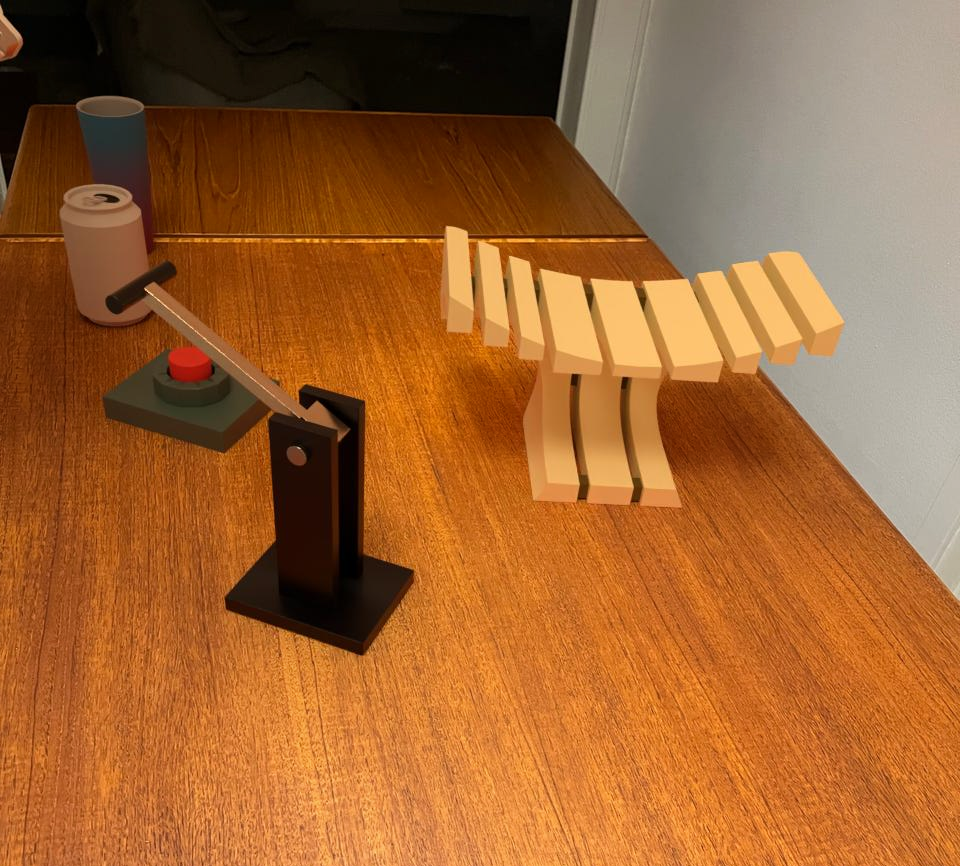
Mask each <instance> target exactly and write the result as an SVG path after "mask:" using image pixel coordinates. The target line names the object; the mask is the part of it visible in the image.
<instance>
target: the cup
mask: <svg viewBox="0 0 960 866" xmlns="http://www.w3.org/2000/svg"><path fill="white" fill-rule="evenodd" d="M75 109H76V112H77V117H78V121H79V125H80V129H81V135H82V139H83V143H84V147H85V151H86V156H87V161H88V164H89V170H90V173H91V177H92V182H93V184H104V185H113V186H117V187H121V188H123V189H125V190H127V191H129V192H130V193H131V195H132V202H134V203H135V204H136V205H137V206H138V207H139V208H140V209H141V215H142V223H143V230H144V237H145V244H146V251H147V255H149V254H151V253H152V252H154V250H155V236H154V222H153V210H152V209H153V208H152V194H151V179H150V166H149V165H150V164H149V151H148V150H149V149H148V138H147V124H146V123H147V122H146V109H145V105H144V104H143V103H142V102H141V101H139V100H136V99H135V98H131V97H126V96H125V97H124V96H119V95H100V96H93V97H92V96H91V97H87V98H84V99H81V100H79V101H78V102H77V103H76V105H75Z"/></svg>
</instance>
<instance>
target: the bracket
mask: <svg viewBox="0 0 960 866" xmlns="http://www.w3.org/2000/svg"><path fill="white" fill-rule="evenodd" d="M316 401H318V402H319V403H321V404H322V405H323V406H324V407H325V408H327V409H328V410H329V411H330V412H331V413H332V414H334V415H335V416H336V417H337V418H338V419H340V420H341V421H342V422H343V423H344V424H346V425H347V426H348V427H349V428H350V430H349V432H348V433H347V434H346V436H345V437H344V439H343V440H342V441H341V443H340V444H339V445H338V430H336V429H333V428H330V427H326V426H323V425H319V424H316V423H312V422H309V421H305V420H302V419H299V418H295V417H292V416H288V415H285V414H281V413H278V412H273V414H271V415H270V417H268V419H267V426H268V442H269V456H270V473H271V486H272V487H271V489H272V503H273V506H272V507H273V522H274V536H275V540H274V541H273V542H272V543H271V544H270V545H269V547H268V548H267V549H265V551H264V553H262V554H261V556H260V557H259V558H258V559H257V560H256V561H255V562H254V563H253V565H252V566H251V567H250V568H249V569H248V570H247V571H246V573H244V575H243V576H242V577H241V578H240V579H239V580H238V582H236V584H235V585H234V586H233V587H232V588H231V589H230V591H229V592H227V594H225V596H224V606H225V610H227V611H230V612H231V613H232V612H233V613H235V614H238V615H241V616H243V617H248V618H250V619H252V620H253V619H254V620H256V621H258V622H262V623H265V624H268V625H271V626H274V627H277V628H279V629H283V630H285V631H289V632H291V633H295V634H297V635H301V636H304V637H307V638H310V639H312V640H316V641H318V642H321V643H324V644H327V645H330V646H333V647H337V648H339V649H343V650H344V651H348V652H350V653H354V654H357V655H359V656H364V655H365V653H366V652H367V650H368V649H369V647H370V646H371V644H372V643H373V642H374V640H375V639H376V637H377V636H378V635H379V633H380V631H381V630H382V629H383V627H384V626H385V624H386V622H387V621H388V620H389V618H390V617H391V615H392V614H393V612H395V609H396V608H397V607H398V606H399V604H400V602H401V601H402V599H403V598H404V597H405V595H406V594H407V592H408V590H409V589H410V588H411V586H412V584H413V583H414V581H415V579H414V578H415V569H412V568H408V567H405V566H402V565H399V564H396V563H393V562H389V561H387V560H383V559H380V558H377V557H374V556H371V555H368V554H364V547H365V546H364V545H365V544H364V543H365V537H364V536H365V470H366V469H365V466H366V465H365V461H366V460H365V459H366V452H365V451H366V400H364V399H360V398H358V397H357V398H356V397H353V396H350V395H346V394H343V393H339V392H336V391H333V390H328V389H325V388H321V387H318V386H315V385H311V384H307V383H305V384H304V385H303V386H301V387H300V389H298V403H299V404H300V405H302V406H303V407H304V408H305V409H306V410H308V409H309V408H310V407H311V406H312V405H313V404H314V403H315V402H316Z"/></svg>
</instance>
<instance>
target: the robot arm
mask: <svg viewBox="0 0 960 866" xmlns="http://www.w3.org/2000/svg"><path fill="white" fill-rule="evenodd" d="M23 45H24V41H23V37H22V35H21V33H20V32H19V31H18V30H17V29H16V28H15V27H14V26H13V24H12V23H11V22H10V21H9V20H8V18H7V17H6V16H5V15H4V12H3V8H2V5H1V4H0V62H4V61H7V60H10V59H13V58H15V57H17V56H18V54H19V52H20V50H21V49H22V47H23Z"/></svg>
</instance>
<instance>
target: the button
mask: <svg viewBox="0 0 960 866" xmlns="http://www.w3.org/2000/svg"><path fill="white" fill-rule="evenodd" d="M172 350H173V351H172V352H170V354H169V356H168V361H169V368H170V375H171V377H172V378H173V379H174V380H178V381H181V382H199V381H203V380H206V379H209V378H210V377H211V376H212V366H211V358H209V357H208V356H207V355H206V354H205V353H203V352H202V351H201V350H200V349H199V348H197V347H196V346H182V347H178V348H175V349H172Z"/></svg>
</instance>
